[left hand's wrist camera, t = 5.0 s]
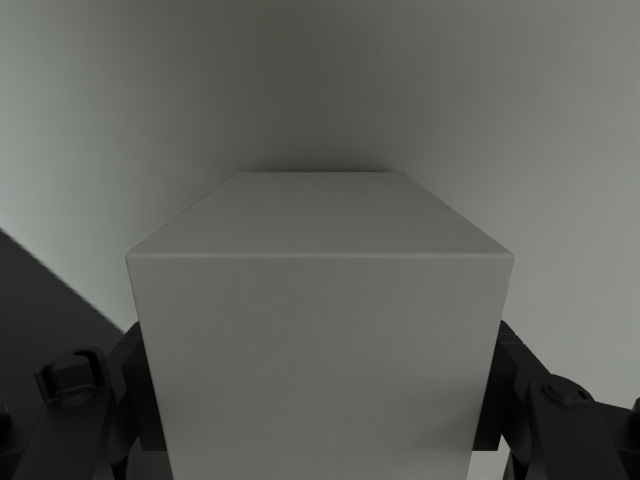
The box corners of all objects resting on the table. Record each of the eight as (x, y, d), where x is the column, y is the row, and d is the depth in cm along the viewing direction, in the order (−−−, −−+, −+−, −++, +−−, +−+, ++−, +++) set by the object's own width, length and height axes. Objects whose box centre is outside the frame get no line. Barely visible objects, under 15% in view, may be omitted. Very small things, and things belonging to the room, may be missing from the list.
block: (390, 328, 19) (456, 532, 10) (249, 328, 19) (183, 532, 10) (403, 171, 16) (517, 254, 7) (236, 171, 16) (122, 254, 7)
